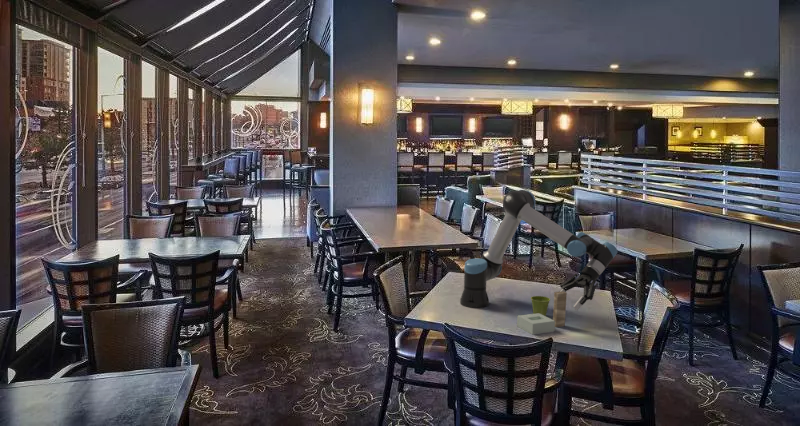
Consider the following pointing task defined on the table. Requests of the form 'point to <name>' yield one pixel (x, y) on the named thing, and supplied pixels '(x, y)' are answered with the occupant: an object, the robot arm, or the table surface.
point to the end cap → (536, 323)
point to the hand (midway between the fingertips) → (565, 304)
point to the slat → (559, 308)
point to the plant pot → (540, 304)
